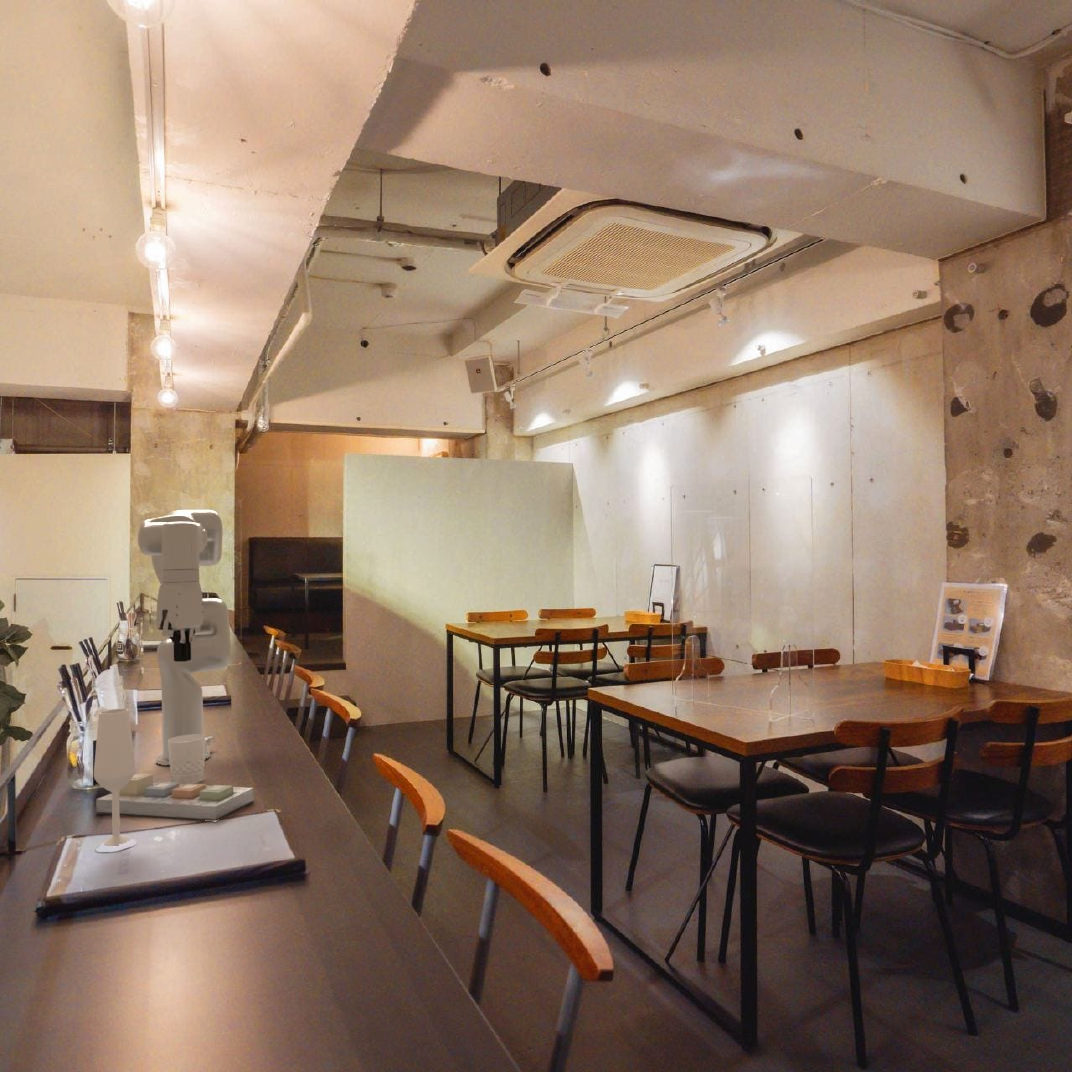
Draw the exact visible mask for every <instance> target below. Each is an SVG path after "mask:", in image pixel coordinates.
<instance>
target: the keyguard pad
mask: <svg viewBox="0 0 1072 1072" xmlns="http://www.w3.org/2000/svg"><path fill="white" fill-rule="evenodd" d="M157 783H158V782H153V785H155V784H157ZM182 785H185V784H179V787H180V786H182ZM210 786H211V785H207V784H206V788H208V787H210ZM95 803H96V804H95V805H96V815H103V816H112V792H110V793H109V794H105V795H103V796H101V797H98V798H96V801H95ZM253 803H254V788H253V787H241V786H233V795H231V796H229V797H227V798H225V799H223V800H220V801H213V800H200V796H198V797H195V798H193V799H179V798H172V794H171V795H169V796H167V797H164V798H162V797H145V793H143V794H141V795H139V796H129V795H119V814H120V817H130V818H133V817H134V818H135V817H136V818H147V819H148V818H149V819H159V820H160V819H161V820H174V821H175V820H176V821H190V822H191V821H193V822H205V820H218V819H221V818H223V819H225V818H226V817H229V816H231V815H232V814H234V813H236V812H238V811H240V810H242V809H244V808H246V807H247V806H249V805H252V804H253ZM224 817H225V818H224ZM221 820H222V819H221Z"/></svg>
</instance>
